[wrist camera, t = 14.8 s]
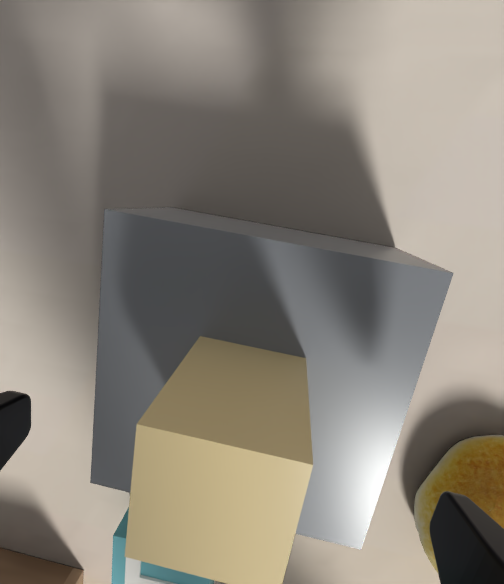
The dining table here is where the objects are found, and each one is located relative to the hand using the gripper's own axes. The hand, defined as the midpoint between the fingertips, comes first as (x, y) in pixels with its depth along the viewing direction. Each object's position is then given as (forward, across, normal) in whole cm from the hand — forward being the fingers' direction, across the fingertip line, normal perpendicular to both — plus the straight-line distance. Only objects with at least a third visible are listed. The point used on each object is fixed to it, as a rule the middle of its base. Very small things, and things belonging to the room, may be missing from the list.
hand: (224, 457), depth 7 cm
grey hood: (+8, 0, 0) cm, 8 cm away
